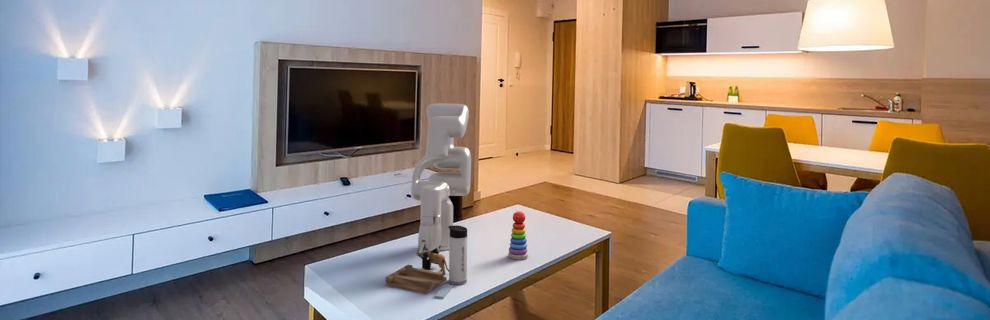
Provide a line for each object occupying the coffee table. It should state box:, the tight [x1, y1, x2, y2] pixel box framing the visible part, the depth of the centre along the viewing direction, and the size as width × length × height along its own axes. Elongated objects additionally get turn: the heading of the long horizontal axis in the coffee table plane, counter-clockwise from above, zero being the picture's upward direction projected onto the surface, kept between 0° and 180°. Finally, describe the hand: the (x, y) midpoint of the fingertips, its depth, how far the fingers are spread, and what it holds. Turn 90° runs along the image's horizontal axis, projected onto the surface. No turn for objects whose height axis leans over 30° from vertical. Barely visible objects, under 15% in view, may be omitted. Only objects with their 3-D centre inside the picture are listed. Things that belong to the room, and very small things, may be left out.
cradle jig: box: [385, 264, 447, 295], centre depth 186 cm, size 14×16×3 cm
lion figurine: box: [415, 248, 449, 275], centre depth 197 cm, size 15×5×9 cm, turn 67°
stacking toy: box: [507, 210, 529, 260], centre depth 213 cm, size 8×8×19 cm
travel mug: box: [448, 225, 468, 286], centre depth 186 cm, size 6×7×20 cm
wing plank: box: [434, 284, 454, 300], centre depth 178 cm, size 10×3×1 cm, turn 167°
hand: (430, 265), depth 198 cm, fingers open, 5 cm apart
